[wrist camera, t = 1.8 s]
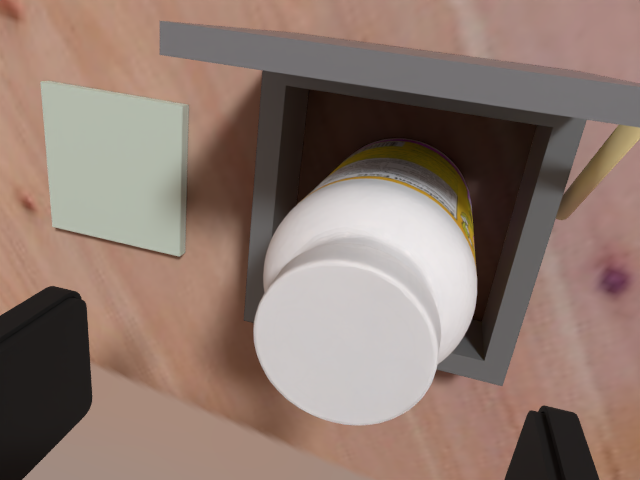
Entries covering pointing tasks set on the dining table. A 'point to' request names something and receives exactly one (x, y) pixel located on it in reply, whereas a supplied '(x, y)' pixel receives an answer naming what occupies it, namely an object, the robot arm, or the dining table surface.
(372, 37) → the dining table surface
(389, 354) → the supplement bottle
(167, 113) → the rest pad
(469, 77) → the case
